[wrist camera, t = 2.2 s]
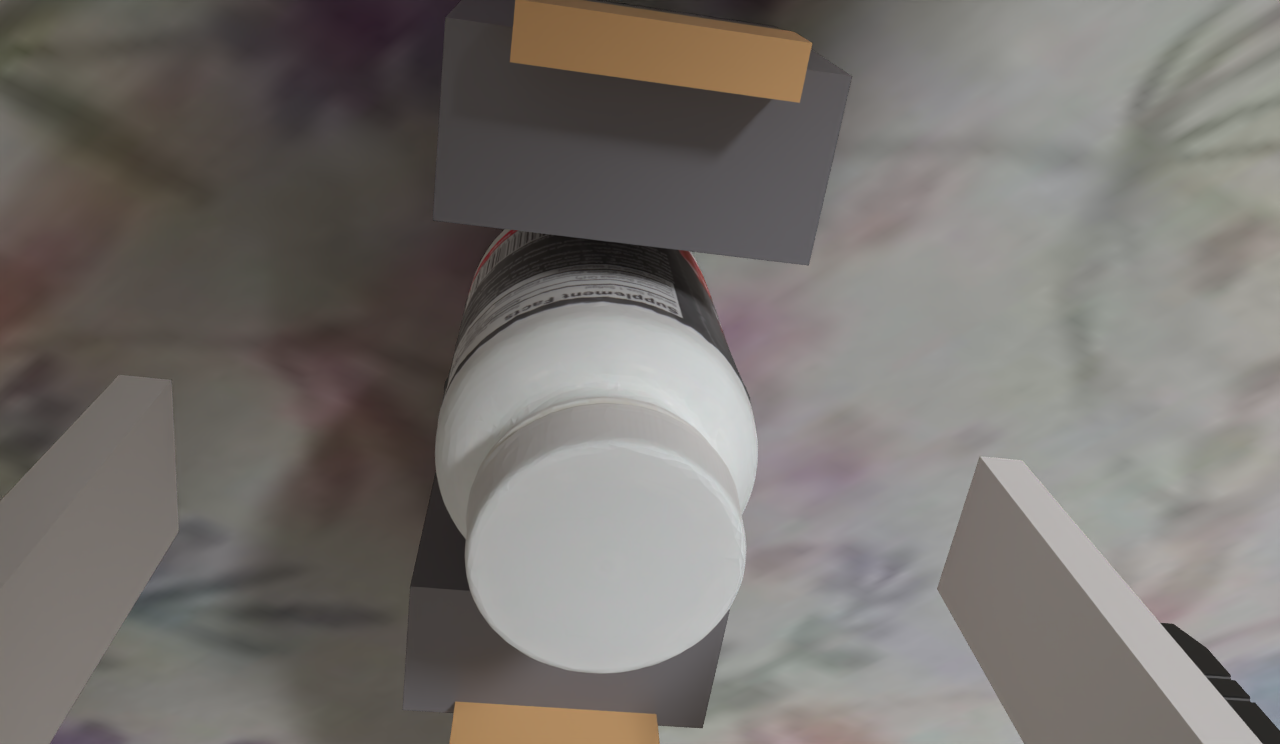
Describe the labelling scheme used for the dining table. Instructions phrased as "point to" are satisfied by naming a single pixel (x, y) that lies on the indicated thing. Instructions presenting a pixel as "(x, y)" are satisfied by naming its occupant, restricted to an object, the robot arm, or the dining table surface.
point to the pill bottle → (596, 451)
